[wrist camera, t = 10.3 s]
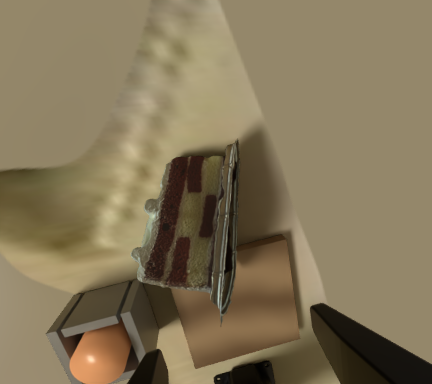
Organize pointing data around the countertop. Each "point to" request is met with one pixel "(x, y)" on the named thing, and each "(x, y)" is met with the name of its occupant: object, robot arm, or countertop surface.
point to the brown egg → (101, 354)
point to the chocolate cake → (194, 227)
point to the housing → (106, 323)
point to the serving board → (243, 307)
